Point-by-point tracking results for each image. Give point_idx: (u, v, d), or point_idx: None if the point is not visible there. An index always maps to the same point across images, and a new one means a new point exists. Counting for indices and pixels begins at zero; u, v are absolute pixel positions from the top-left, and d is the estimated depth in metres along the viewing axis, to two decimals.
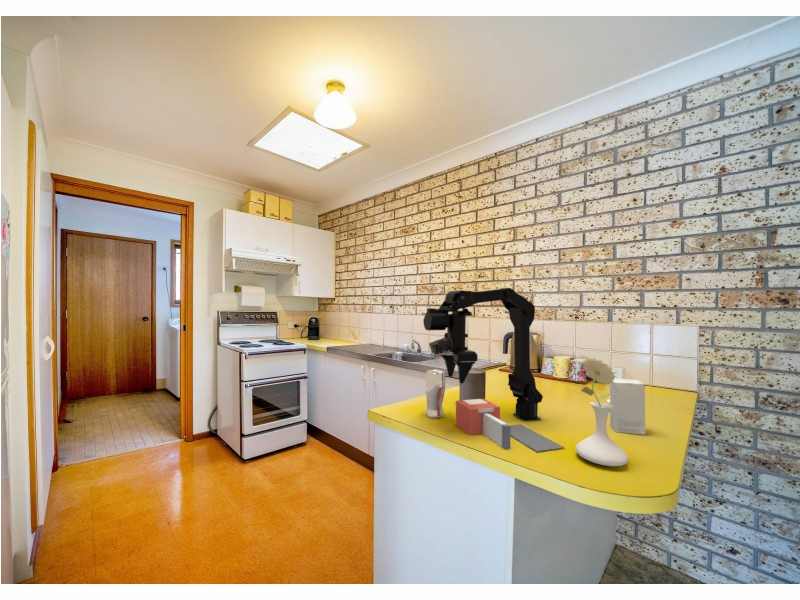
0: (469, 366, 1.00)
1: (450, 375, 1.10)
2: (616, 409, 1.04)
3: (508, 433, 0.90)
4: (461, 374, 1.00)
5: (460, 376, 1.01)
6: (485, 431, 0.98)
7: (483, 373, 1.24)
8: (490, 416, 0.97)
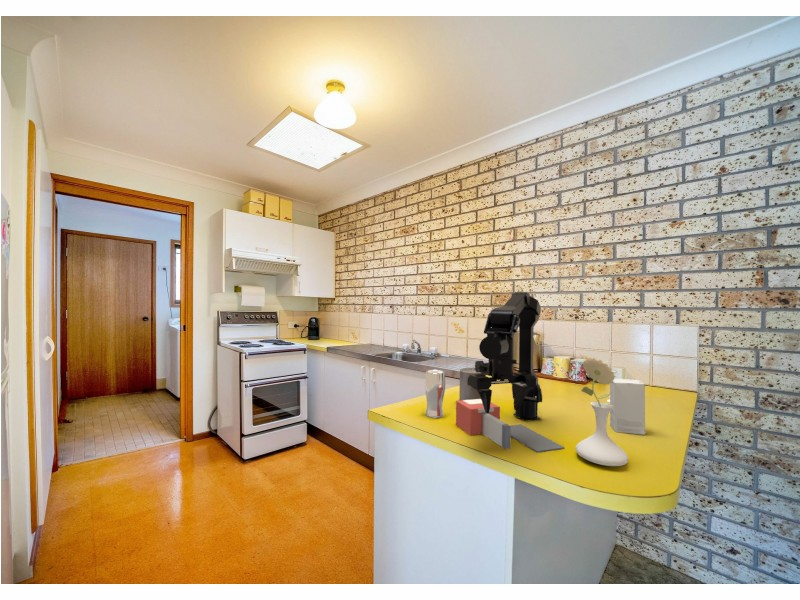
0: (485, 395, 0.89)
1: (515, 408, 0.94)
2: (616, 409, 1.04)
3: (508, 433, 0.90)
4: (482, 401, 0.91)
5: (483, 404, 0.92)
6: (485, 431, 0.98)
7: None
8: (490, 416, 0.97)
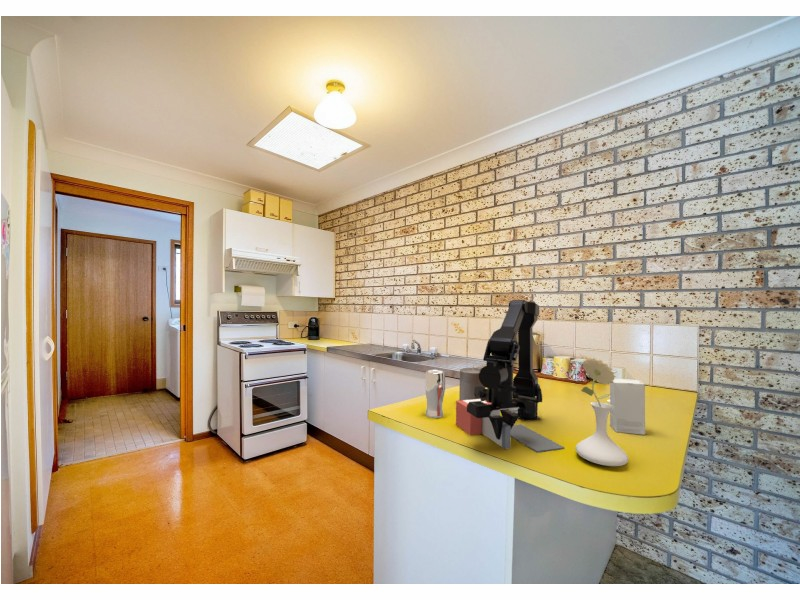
0: (496, 422, 0.90)
1: None
2: (616, 409, 1.04)
3: (508, 433, 0.90)
4: (493, 427, 0.92)
5: (494, 430, 0.93)
6: (485, 431, 0.98)
7: None
8: None
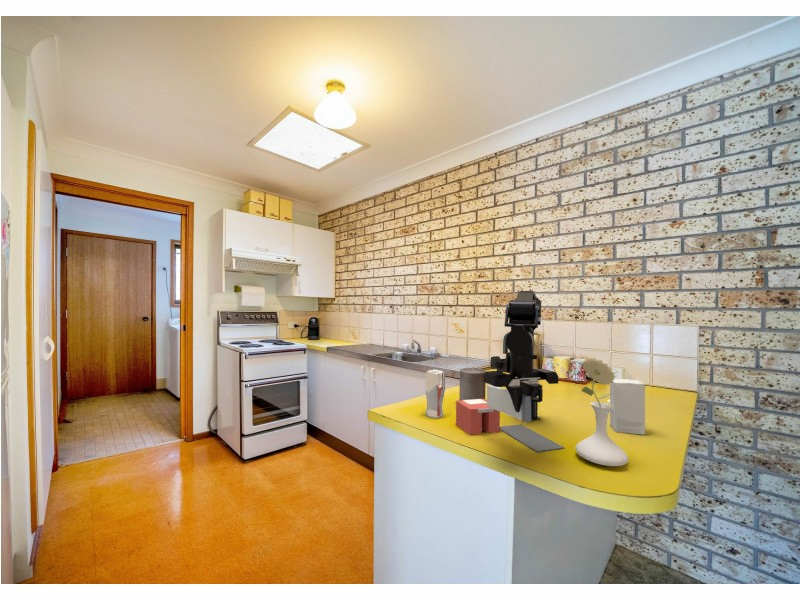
0: (516, 392, 0.83)
1: None
2: (616, 409, 1.04)
3: (528, 404, 0.82)
4: (512, 399, 0.85)
5: (513, 402, 0.85)
6: (502, 407, 0.91)
7: (483, 373, 1.24)
8: (507, 390, 0.90)
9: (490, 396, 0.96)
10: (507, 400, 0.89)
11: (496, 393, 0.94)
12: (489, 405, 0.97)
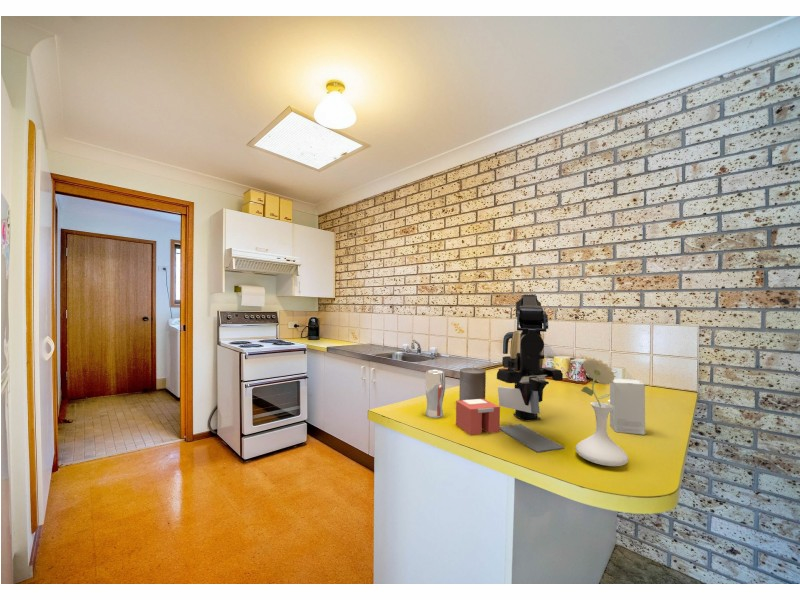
0: (525, 388, 0.94)
1: None
2: (616, 409, 1.04)
3: (536, 398, 0.94)
4: (522, 394, 0.97)
5: None
6: (512, 404, 1.02)
7: (483, 373, 1.24)
8: (516, 389, 1.02)
9: (501, 396, 1.08)
10: (517, 397, 1.00)
11: (507, 393, 1.05)
12: (501, 404, 1.08)
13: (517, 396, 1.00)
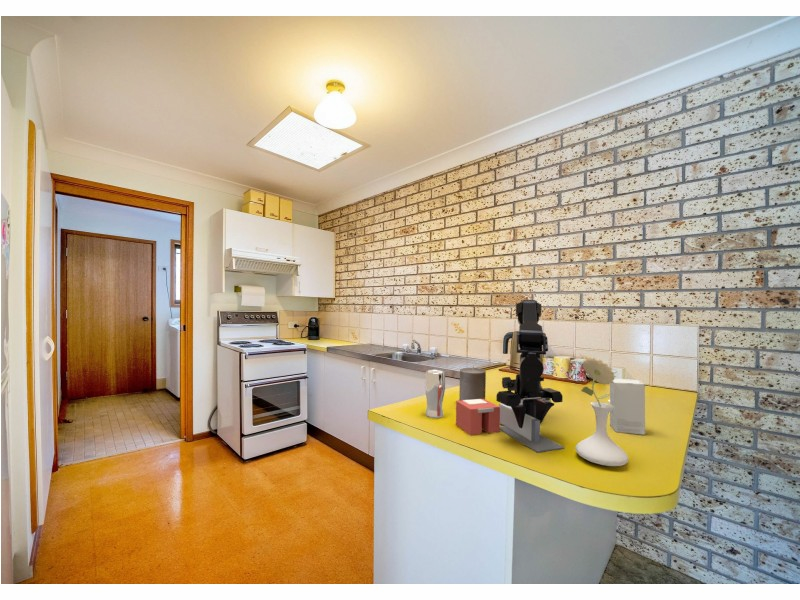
0: (519, 411, 0.93)
1: None
2: (616, 409, 1.04)
3: (538, 427, 0.93)
4: (516, 417, 0.96)
5: (516, 419, 0.96)
6: (513, 425, 1.02)
7: (483, 373, 1.24)
8: None
9: (501, 414, 1.07)
10: None
11: (508, 412, 1.04)
12: (501, 421, 1.08)
13: None
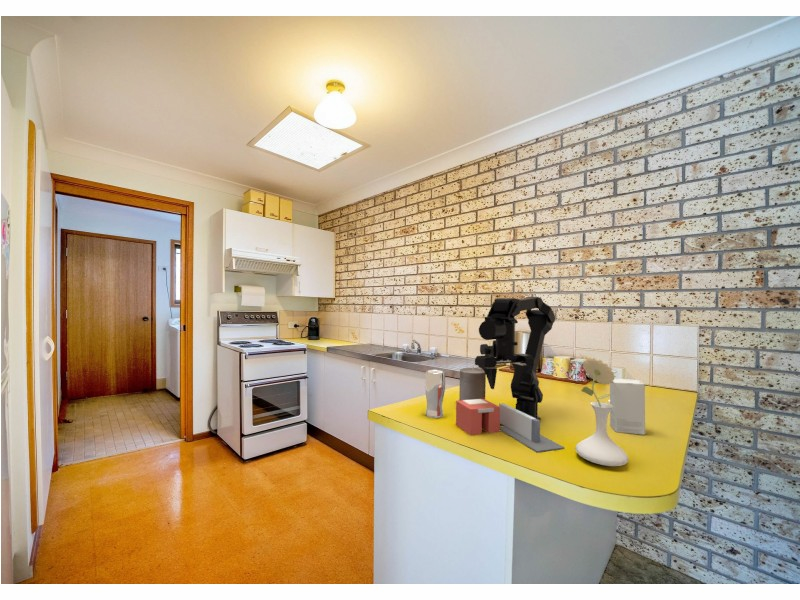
0: (491, 373, 1.02)
1: (515, 385, 1.07)
2: (616, 409, 1.04)
3: (538, 427, 0.93)
4: (488, 379, 1.04)
5: (488, 381, 1.04)
6: (513, 425, 1.02)
7: (483, 373, 1.24)
8: (518, 411, 1.01)
9: (501, 414, 1.07)
10: (518, 420, 1.00)
11: (508, 412, 1.04)
12: (501, 421, 1.08)
13: (518, 420, 1.00)
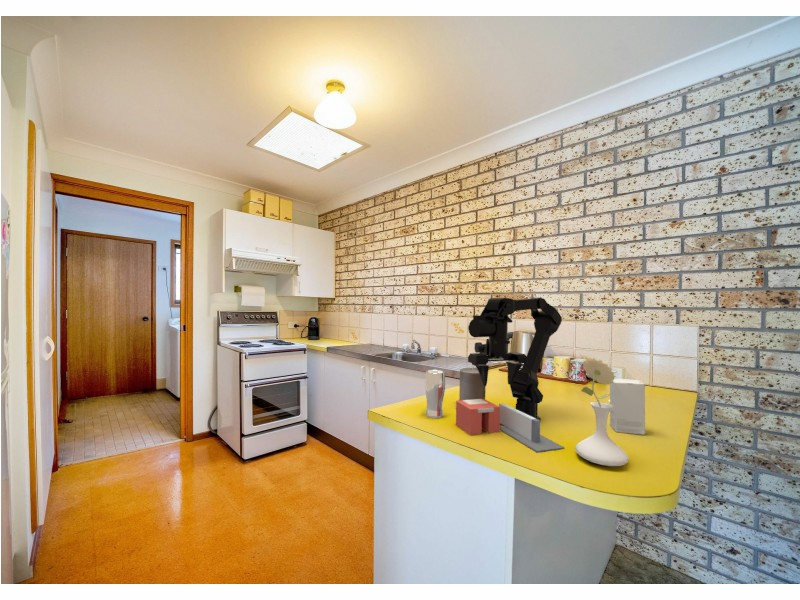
0: (483, 370, 1.05)
1: (508, 383, 1.10)
2: (616, 409, 1.04)
3: (538, 427, 0.93)
4: (481, 376, 1.07)
5: (481, 378, 1.07)
6: (513, 425, 1.02)
7: None
8: (518, 411, 1.01)
9: (501, 414, 1.07)
10: (518, 420, 1.00)
11: (508, 412, 1.04)
12: (501, 421, 1.08)
13: (518, 420, 1.00)
